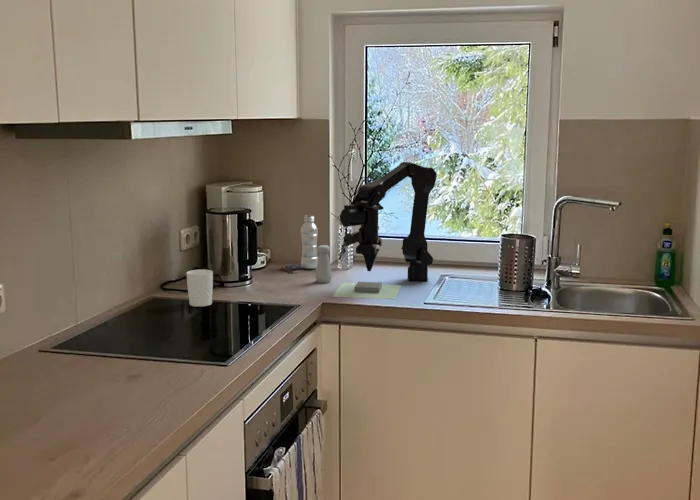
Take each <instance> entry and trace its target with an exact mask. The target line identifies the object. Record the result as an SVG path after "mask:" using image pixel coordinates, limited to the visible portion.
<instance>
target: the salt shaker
mask: <svg viewBox="0 0 700 500" xmlns="http://www.w3.org/2000/svg"><path fill="white" fill-rule="evenodd" d="M330 251H331V248H330V246H329V245H326V244H322V245H321V244H320V245H319V246H318V245H317V254H318V263H317V268H315V269H316V270H315V275H314V276H315V280H316V282H317V283H320V284H328V283H330V282H331V280H332V279H333V274H332V268H331V263H330V258H329V253H330Z"/></svg>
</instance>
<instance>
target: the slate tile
mask: <svg viewBox="0 0 700 500" xmlns="http://www.w3.org/2000/svg"><path fill="white" fill-rule="evenodd" d="M382 285H383V282H377V281H376V282H375V281H357V282H356V286H355V292H370V293H379V292H380V290H381V288H382Z"/></svg>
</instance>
